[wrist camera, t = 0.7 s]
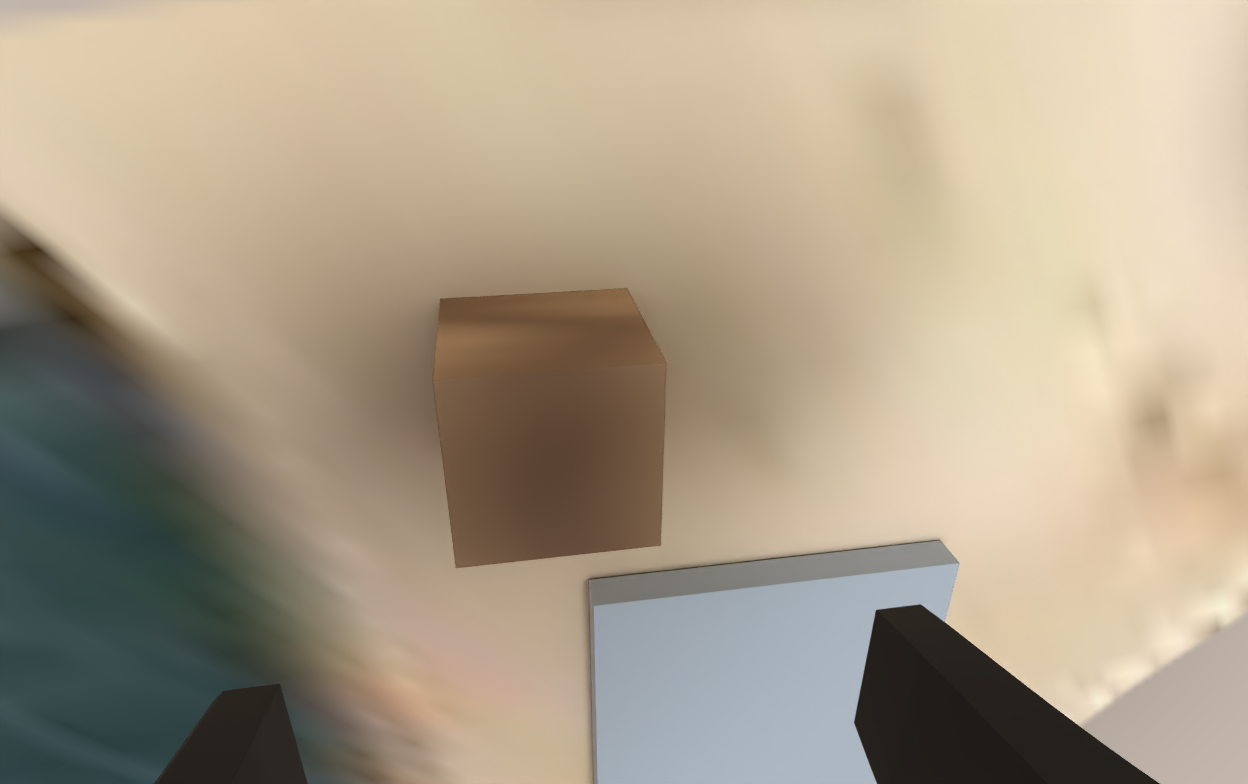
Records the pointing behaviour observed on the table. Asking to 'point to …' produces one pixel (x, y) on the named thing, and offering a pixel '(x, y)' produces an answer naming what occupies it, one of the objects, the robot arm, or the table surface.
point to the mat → (746, 665)
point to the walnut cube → (549, 425)
